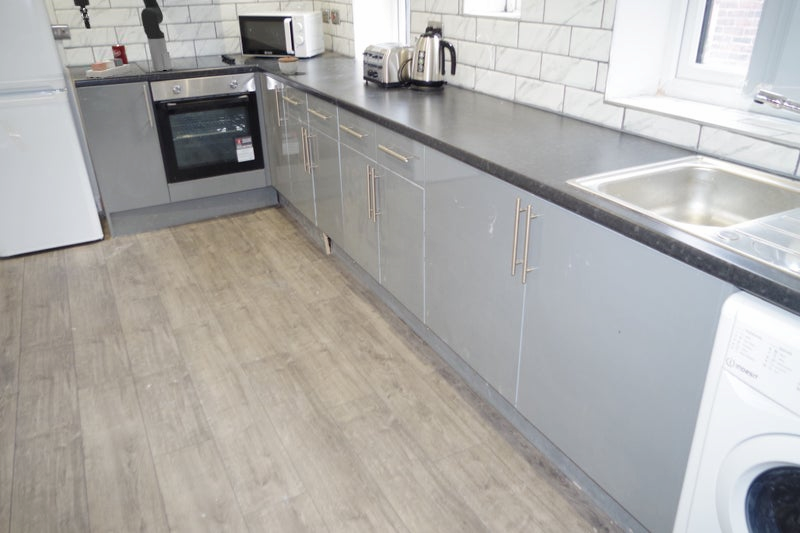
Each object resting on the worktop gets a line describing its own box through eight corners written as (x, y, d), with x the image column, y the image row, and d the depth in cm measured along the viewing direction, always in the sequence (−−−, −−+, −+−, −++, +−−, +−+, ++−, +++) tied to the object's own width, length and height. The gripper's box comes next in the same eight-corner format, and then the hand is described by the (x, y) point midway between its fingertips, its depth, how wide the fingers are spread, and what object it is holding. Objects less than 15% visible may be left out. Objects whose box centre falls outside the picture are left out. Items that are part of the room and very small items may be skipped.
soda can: (120, 67, 356) (115, 46, 351) (113, 66, 360) (108, 45, 355) (131, 65, 361) (126, 44, 356) (124, 64, 365) (120, 44, 360)
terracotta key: (107, 70, 329) (105, 62, 327) (101, 71, 325) (99, 64, 323) (99, 69, 330) (97, 62, 328) (93, 71, 326) (91, 63, 324)
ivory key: (115, 68, 335) (113, 60, 333) (109, 69, 331) (107, 62, 329) (107, 67, 336) (106, 60, 334) (101, 69, 332) (100, 61, 330)
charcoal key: (123, 66, 341) (121, 58, 339) (117, 67, 337) (116, 60, 335) (115, 65, 342) (114, 58, 340) (110, 67, 338) (108, 59, 336)
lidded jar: (275, 74, 323) (273, 56, 319) (287, 71, 331) (286, 53, 327) (291, 75, 318) (289, 57, 314) (303, 72, 327) (302, 54, 322)
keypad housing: (131, 70, 344) (130, 64, 343) (103, 78, 323) (101, 71, 322) (116, 70, 346) (114, 64, 345) (87, 77, 326) (85, 71, 324)
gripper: (88, -4, 320) (96, 28, 328) (86, -5, 332) (94, 26, 339) (73, -3, 317) (81, 29, 325) (71, -4, 329) (80, 27, 336)
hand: (88, 28), depth 332 cm, fingers open, 8 cm apart
